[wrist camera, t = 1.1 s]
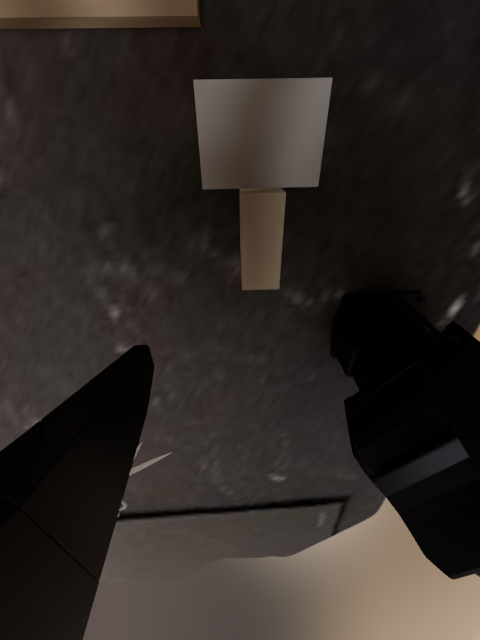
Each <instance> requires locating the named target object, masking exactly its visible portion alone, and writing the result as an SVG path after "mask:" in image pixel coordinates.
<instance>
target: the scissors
mask: <svg viewBox="0 0 480 640" xmlns="http://www.w3.org/2000/svg"><path fill="white" fill-rule="evenodd" d="M142 442H143V441H142ZM142 442H141V444H142ZM141 444H140V445H139V446H138V447H137V450H136V453H135V457H136V454H137V452H138V450H139V448H140V446H141ZM171 453H172V452H171ZM169 454H170V453H168V454H165V455H163V456H160V457H158V458H155V459H152V460H150V461H148V462H146V463H143V464H141V465H139V466H137V467H134V468H133V469H131V471H130V474H129V476H130V475H132V474H134V473H136V472H138V471H140V470H142V469H144V468H146V467H147V466H149V465H151V464H153V463H155V462H157V461H158V460H160V459H162V458H164V457H166V456H167V455H169ZM135 457H134V459H135ZM133 461H134V460H133ZM121 503H122V504H123V506H121V507H120V509H119V511H121V510H123V509H125V508H126V507H127V505H128V504H127V502H126V501H125V500H124V499H122V502H121ZM119 515H120V513H118V516H119ZM118 516H117V517H118Z"/></svg>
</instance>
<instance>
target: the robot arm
mask: <svg viewBox="0 0 480 640" xmlns="http://www.w3.org/2000/svg"><path fill="white" fill-rule="evenodd" d="M418 297H419V298H418ZM417 298H418V299H417ZM349 299H351V301H349V302H347V300H349ZM425 300H426V295H425V294H423V293H422V292H420V291H412V292H380V293H349V294H346V295H344V297H343V298H342V302H341V306H340V311H339V315H338V318H337V319H336V320H335V322H334V327H333V332H332V336H331V341H330V344H331V346H332V347H331V351H330V354H331V356H332V358H334V359H338V360H339V362H340V364H341V366H342V368H343V370H344V373H345V375H346V376H348V377H353V379H354V381H355V382H356V384H357V386H358V388H359V390H360V391H359V392H357V393H356V394H355V395H353V396H352V397H351V396H349V397H348V398H347V399H345V400H344V404H345V411H346V417H347V424H348V430H349V437H350V443H351V447H352V452H353V455H354V457H355V459H356V460H357V461H358V463H359V465H360V466H361V468H362V469H363V471H364V472H365V473H366V475H367V476H368V477H369V479H370V480H371V481H372V482H373V483H374V484H375V485H376V487H377V488H378V489H379V490H380V491H381V492H382V493H383V494H384V495H385V496H386V498H387V499H388V500H389V502H390V503H391V504H392V506H393V507H394V508H395V510H396V511H397V512H398V514H399V515H400V516H401V518H402V520H403V521H404V523H405V524H406V526H407V527H408V529H409V531H410V532H411V534H412V536H413V537H414V539H415V541H416V542H417V544H418V545H419V547H420V549H421V550H422V552H423V554H424V555H425V556H426V558H428V559H429V560H430V561H431V562H432V563H433V564H434V565H435V566H437V567H438V568H439V569H440V570H441V571H442V572H443V573H444V574H446V575H447V576H448V577H449V578H451V579H458V578H461V577H464V576H468V575H471V574H476V575H478V576H479V577H480V342H479V341H478V340H476V338H474V337H473V336H472V335H471V334H469V333H468V332H467V331H466V330H464V329H463V328H462V327H461V326H459V325H458V324H457V323H455V322H454V321H453V322H451V323H450V324H449V325H447V326H446V329H445V330H443V331H442V332H439V331H438V330H437V329H436V328H435V327H434V326H433V325H432V324H431V323H430V322H429V321H428V320H427V319H425V318H424V317H423V316H422V315H421V314H420V312H421V309H422V307H423V304H424V302H425ZM153 373H154V363H153V359H152V356H151V352H150V349H149V347H148V346H147V345H135V346H133V347H132V348H131V349H129V350H128V351H127V352H126V353H124V354H123V355H122V356H121V357H119V358H118V359H117V360H116V361H114V362H113V363H112V364H111V365H109V366H108V367H107V368H106V369H104V370H103V371H102V372H101V373H99V374H98V375H97V376H95V377H94V378H93V379H92V380H90V381H89V382H88V383H87V384H85V385H84V386H83V387H82V388H80V389H79V390H78V391H77V392H75V393H74V394H73V395H72V396H70V397H69V398H68V399H67V400H65V401H64V402H63V403H62V404H60V405H59V406H58V407H57V408H55V409H54V410H53V411H51V412H50V413H49V414H48V415H46V416H45V417H44V418H43V419H42V420H41V421H39V422H38V423H36V424H35V425H34V426H33V427H31V428H30V429H29V430H28V431H26V432H25V433H24V434H22V435H21V436H20V437H18V438H17V439H16V440H15V441H13V442H12V443H11V444H9V445H8V446H7V447H5V448H4V449H3V450H1V451H0V640H83V636H84V633H85V629H86V626H87V622H88V619H89V615H90V612H91V608H92V604H93V601H94V597H95V594H96V591H97V587H98V584H99V581H98V580H99V579H100V576H101V572H102V569H103V565H104V562H105V558H106V555H107V551H108V548H109V544H110V541H111V537H112V534H113V530H114V527H115V523H116V520H117V516H118V513H119V509H120V506H121V502H122V499H123V495H124V492H125V488H126V485H127V481H128V478H129V474H130V471H131V467H132V464H133V460H134V457H135V453H136V450H137V446H138V443H139V439H140V436H141V432H142V429H143V425H144V422H145V418H146V414H147V410H148V404H149V398H150V392H151V386H152V379H153Z"/></svg>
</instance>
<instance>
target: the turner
mask: <svg viewBox="0 0 480 640" xmlns="http://www.w3.org/2000/svg"><path fill="white" fill-rule="evenodd" d="M193 81H194V93H195V105H196V117H197V129H198V141H199V153H200V165H201V176H202V188H203V189H240V252H241V282H242V290H264V289H279V284H280V270H281V256H282V242H283V228H284V215H285V201H286V192H285V191H284V190H283V189H282V188H286V187H318V184H319V177H320V169H321V161H322V154H323V146H324V138H325V131H326V123H327V116H328V108H329V100H330V93H331V85H332V78H276V79H208V80H193Z"/></svg>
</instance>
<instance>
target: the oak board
mask: <svg viewBox="0 0 480 640" xmlns="http://www.w3.org/2000/svg"><path fill="white" fill-rule="evenodd" d="M158 27H201V24H200V9H199V0H0V29H65V28H158Z"/></svg>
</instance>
